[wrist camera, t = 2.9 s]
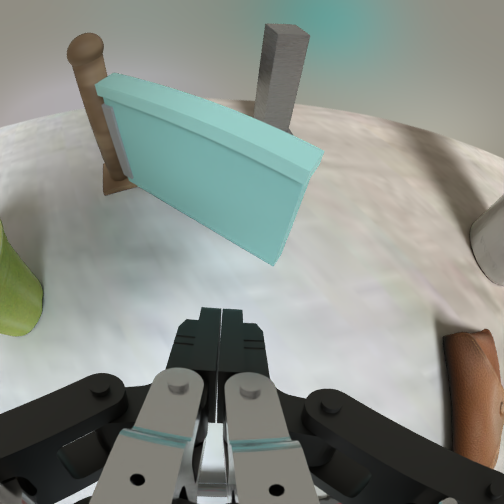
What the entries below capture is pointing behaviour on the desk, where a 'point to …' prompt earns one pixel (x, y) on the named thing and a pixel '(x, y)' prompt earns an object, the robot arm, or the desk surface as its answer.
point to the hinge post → (96, 105)
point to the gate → (210, 161)
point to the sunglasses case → (475, 395)
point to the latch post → (280, 74)
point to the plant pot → (17, 292)
